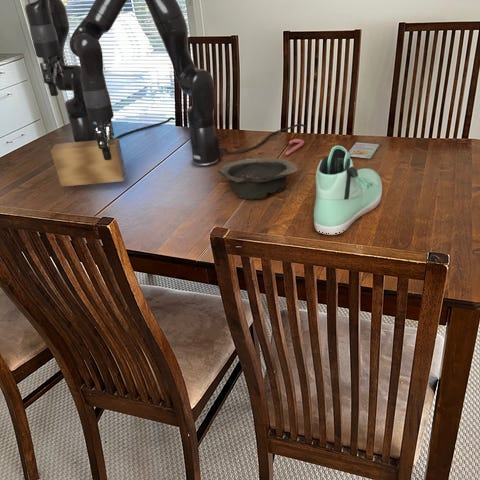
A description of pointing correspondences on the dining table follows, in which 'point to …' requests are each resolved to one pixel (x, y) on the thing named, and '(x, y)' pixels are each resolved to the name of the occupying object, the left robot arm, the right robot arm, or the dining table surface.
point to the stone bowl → (257, 176)
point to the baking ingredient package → (363, 150)
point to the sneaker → (343, 192)
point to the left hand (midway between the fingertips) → (58, 92)
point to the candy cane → (295, 146)
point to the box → (88, 163)
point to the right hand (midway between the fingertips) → (110, 155)
